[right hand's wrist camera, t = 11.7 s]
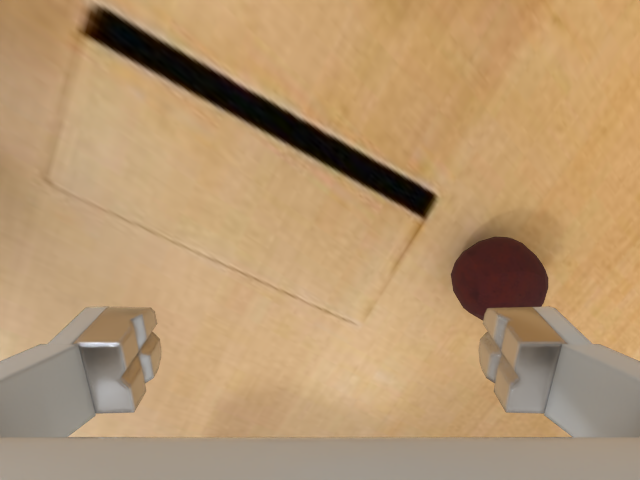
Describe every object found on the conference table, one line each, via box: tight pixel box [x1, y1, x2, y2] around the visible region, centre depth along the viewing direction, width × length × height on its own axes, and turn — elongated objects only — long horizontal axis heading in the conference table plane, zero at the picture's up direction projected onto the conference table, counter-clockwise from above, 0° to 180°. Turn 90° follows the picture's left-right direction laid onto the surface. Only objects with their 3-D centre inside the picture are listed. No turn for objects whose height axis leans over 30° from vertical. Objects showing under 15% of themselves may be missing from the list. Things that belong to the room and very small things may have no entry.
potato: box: [451, 237, 548, 320], centre depth 36 cm, size 7×8×7 cm
